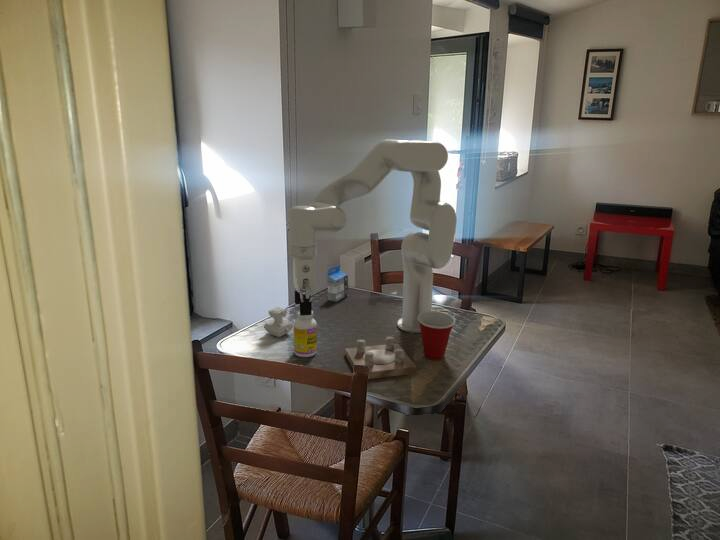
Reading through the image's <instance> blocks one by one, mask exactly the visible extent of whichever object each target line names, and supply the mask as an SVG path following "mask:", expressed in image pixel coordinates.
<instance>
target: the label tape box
mask: <svg viewBox="0 0 720 540" xmlns="http://www.w3.org/2000/svg"><path fill="white" fill-rule="evenodd" d="M341 264H342V263H341ZM341 264H337V265H335V266H332V267H330V268H327V272H326V273H327V275H326V276H327V279H326V280H327V299H328V301H331V302H335V303H336V302H338V301H340V300H342V299H344V298H346V297H347V296H349V275H348V274H347V273H345V272H344V271H342V270H341Z"/></svg>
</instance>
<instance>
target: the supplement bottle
mask: <svg viewBox="0 0 720 540" xmlns="http://www.w3.org/2000/svg"><path fill="white" fill-rule="evenodd" d="M313 317H314V311H313V310H312V314H311V315H303V316H301V315H300V309H299V310H297V311H296V319H295V320H294V322H293V352H294V354H295V355H296V356H298V357H301V358H310V357H313V356H314V355H316V353H317V351H318V343H317V342H318V338H317V335H318V333H317V324H318V323H317V321H316V320H315V318H313Z"/></svg>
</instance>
